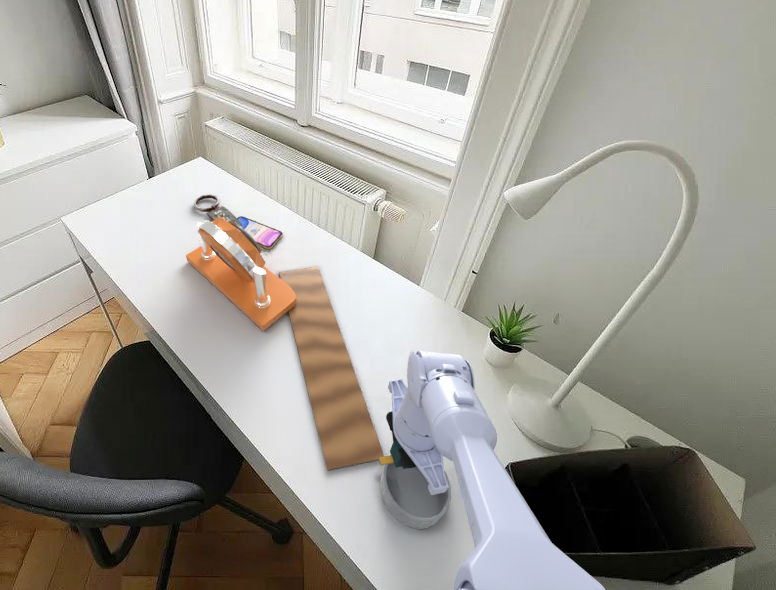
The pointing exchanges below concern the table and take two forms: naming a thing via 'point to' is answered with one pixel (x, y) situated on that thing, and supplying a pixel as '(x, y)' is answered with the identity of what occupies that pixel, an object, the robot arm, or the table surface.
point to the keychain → (216, 210)
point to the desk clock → (240, 271)
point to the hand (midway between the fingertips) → (404, 454)
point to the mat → (330, 375)
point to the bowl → (412, 497)
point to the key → (392, 455)
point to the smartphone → (261, 232)
